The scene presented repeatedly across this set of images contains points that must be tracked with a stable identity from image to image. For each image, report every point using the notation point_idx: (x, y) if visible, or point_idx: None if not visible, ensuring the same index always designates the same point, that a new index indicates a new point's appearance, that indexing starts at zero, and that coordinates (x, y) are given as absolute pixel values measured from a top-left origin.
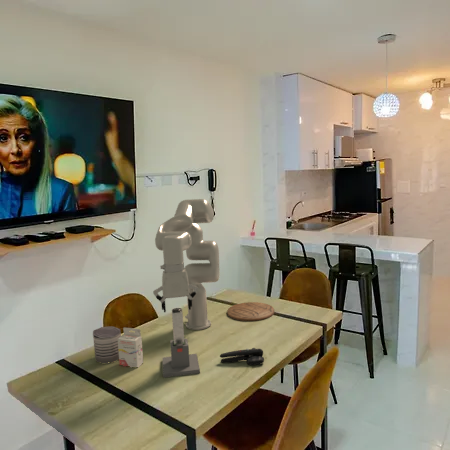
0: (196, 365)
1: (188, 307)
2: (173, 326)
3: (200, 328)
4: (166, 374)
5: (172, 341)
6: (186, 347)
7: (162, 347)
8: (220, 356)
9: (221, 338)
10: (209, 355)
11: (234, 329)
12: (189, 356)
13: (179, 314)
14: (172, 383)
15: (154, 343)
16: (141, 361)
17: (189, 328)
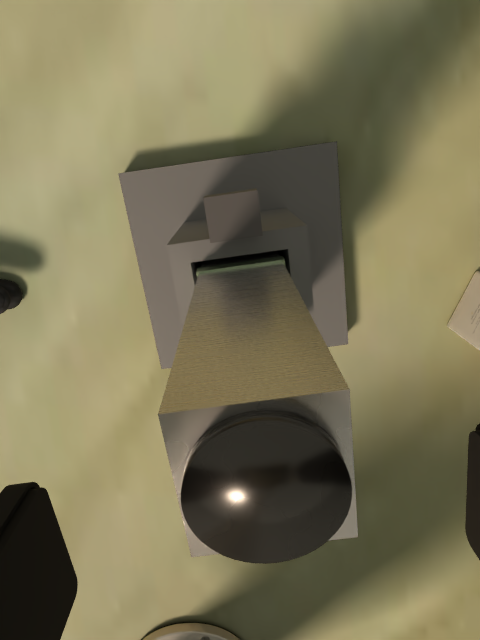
0: (144, 227)
1: (64, 560)
2: (300, 307)
3: (175, 629)
4: (314, 145)
5: None
6: (183, 240)
7: None
8: (2, 291)
9: None
10: (97, 371)
11: None
12: None
13: (215, 388)
14: (272, 61)
15: (393, 518)
16: (462, 313)
17: (230, 635)
